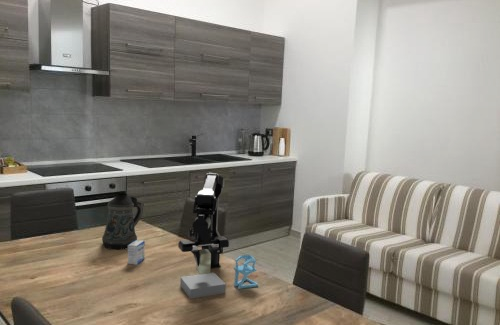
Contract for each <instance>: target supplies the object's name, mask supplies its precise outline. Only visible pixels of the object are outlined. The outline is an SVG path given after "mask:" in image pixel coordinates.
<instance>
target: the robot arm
mask: <svg viewBox="0 0 500 325" xmlns="http://www.w3.org/2000/svg"><path fill="white" fill-rule="evenodd" d="M224 188H225V177H223V176H221V175H219V173H215V172H208V173H206V175H205V176H204V177H203V188H202V189H200V190H199V191H198V193H197V194H196V195H195V196H194V201H193V211H192V213H193V214H196V218H195V219H194V221H193V222H192V227H191V228H187V237H188V238H192V240H194V241H191V240H190V239H182V240H179V241H178V249H179V250H180V251H181V252H183V253H187V252H188V253H189V252H190V253H192V254H193V258H194V260H195V263H196V264H197V266H199V259H200V251H199V250H200V249H199V247H201V249H207V250H208V251H209V252H210V253H211V268H210V269H212V268H219V267H221V264H220V255H221V254H223V253H224V248H229V247H230V241H229V239H228V238H227V237H225V236H224V235H221V234H220V233H219V231H218V223H219V222H218V218H219V202H220V201H219V198H220V195H221V194H222V193H223V191H224V190H223V189H224ZM196 264H195V265H196Z"/></svg>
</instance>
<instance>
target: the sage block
mask: <svg viewBox="0 0 500 325" xmlns="http://www.w3.org/2000/svg"><path fill="white" fill-rule="evenodd" d="M198 250H199V251H200V259H199V266H197V264H195V271H197V273H198V275H199V274H200V275H201V274H209V273H211V269H212V268H211V253H210V252H209V251H208V250H207V249H202V248H201V249H198Z"/></svg>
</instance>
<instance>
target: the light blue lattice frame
mask: <svg viewBox="0 0 500 325" xmlns="http://www.w3.org/2000/svg"><path fill="white" fill-rule="evenodd" d="M242 259H244V261H245V262H244V263H243V264H242V265H239V261H240V260H242ZM234 261H235V266H234V267H233V270H234V272H235V273H234V284H233V287H237V289H238V290H240V289H247V288H254V287H258V286H259V283H257V282H256V281H254V280H251V279H250V278H248V276H249V275H250V274H252V273H255V272H257V268H255V265H256V263H257V262H256V261H257V260H256V259H255V257H254V256H252V255H249V254H244V255H240V256H238V257H237V258H235V259H234ZM250 263H252V265H249V264H250ZM239 274H242V275H243V277H242V278H241V280H239ZM245 281H247V282H248V283H249V284H244V282H245Z"/></svg>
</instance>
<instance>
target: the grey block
mask: <svg viewBox="0 0 500 325" xmlns="http://www.w3.org/2000/svg"><path fill="white" fill-rule="evenodd" d="M179 282H180V284H179V285H180V287H181V289H182V290H183V292H184V293H185V294H186V295H187V296H188V297H189V299H190V300H191V299H196V298H202V297H209V296H214V295H215V296H216V295H221V294H226V285H227V284H226V283H225V282H224V281H223V280H222V278H220V277H219V276H218V275H217V273H216V272H210V273H209V274H201V275H200V274H199V273H198V274H194V275H187V276H180V280H179Z"/></svg>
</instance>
